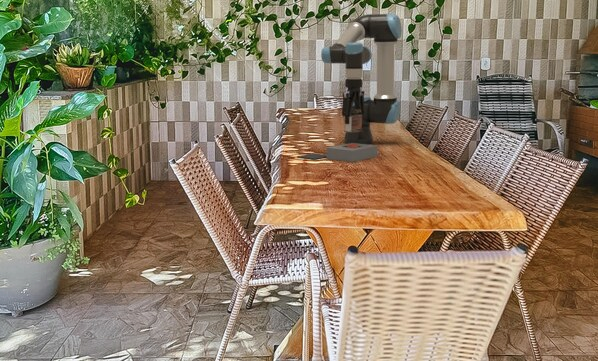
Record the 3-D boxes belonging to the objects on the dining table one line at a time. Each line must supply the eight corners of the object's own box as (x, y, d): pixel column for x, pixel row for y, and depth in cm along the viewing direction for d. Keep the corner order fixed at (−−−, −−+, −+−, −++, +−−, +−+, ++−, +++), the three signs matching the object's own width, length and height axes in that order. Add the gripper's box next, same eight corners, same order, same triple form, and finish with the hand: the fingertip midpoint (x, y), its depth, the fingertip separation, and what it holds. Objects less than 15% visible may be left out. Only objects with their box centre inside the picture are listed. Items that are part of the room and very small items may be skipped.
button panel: (351, 153, 326) (351, 142, 325) (377, 156, 317) (377, 145, 316) (326, 158, 311) (326, 147, 310) (352, 162, 302) (353, 150, 301)
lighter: (345, 132, 310) (346, 109, 307) (343, 131, 313) (343, 109, 311) (362, 131, 312) (363, 109, 310) (360, 130, 315) (360, 108, 313)
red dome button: (350, 154, 317) (351, 143, 316) (359, 155, 314) (360, 144, 313) (344, 155, 313) (345, 144, 312) (353, 156, 310) (354, 145, 310)
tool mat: (313, 154, 322) (313, 153, 322) (330, 156, 316) (330, 155, 316) (296, 157, 313) (296, 156, 313) (314, 160, 307) (314, 158, 307)
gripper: (359, 76, 317) (358, 127, 322) (333, 79, 302) (333, 132, 307) (373, 77, 313) (372, 128, 317) (348, 79, 297) (347, 133, 302)
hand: (353, 130), depth 312 cm, fingers closed on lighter, 7 cm apart
